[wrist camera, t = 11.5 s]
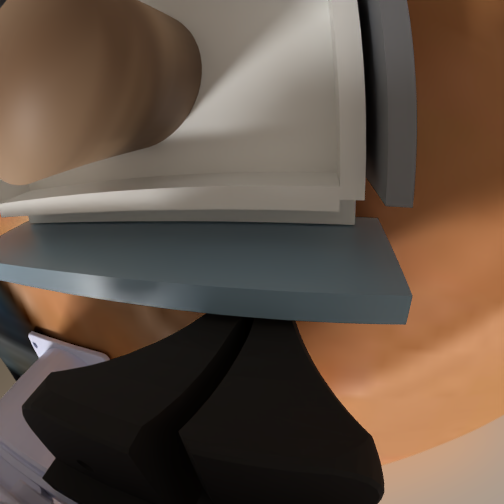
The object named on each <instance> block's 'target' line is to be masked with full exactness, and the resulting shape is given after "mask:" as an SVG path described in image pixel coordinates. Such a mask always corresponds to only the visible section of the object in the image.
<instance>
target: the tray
mask: <svg viewBox="0 0 504 504" xmlns="http://www.w3.org/2000/svg"><path fill="white" fill-rule="evenodd" d="M138 1H140V2H143V3H145V4H147V5H149V6H151V7H153V8H155V9H157V10H159V11H161V12H163V13H165V14H167V15H169V16H170V17H172V18H174V19H176V20H178V21H179V22H181V23H182V24H183V25H184V26H185V27H186V28H187V29H188V30H189V31H190V32H191V34H192V35H193V37H194V39H195V41H196V43H197V45H198V48H199V51H200V55H201V62H202V77H201V85H200V89H199V93H198V96H197V98H196V101H195V104H194V106H193V108H192V109H191V111H190V113H189V115H188V116H187V118H186V119H185V121H184V122H183V123H182V124H181V125H180V127H179V128H178V129H177V130H176V131H175V132H174V133H172V134H171V135H170V136H169V137H167V138H166V139H165V140H163V141H161V142H160V143H158V144H156V145H153V146H151V147H148V148H144V149H140V150H136V151H132V152H129V153H125V154H121V155H117V156H114V157H110V158H107V159H103V160H100V161H96V162H93V163H90V164H86V165H83V166H80V167H77V168H74V169H71V170H68V171H65V172H62V173H59V174H56V175H53V176H50V177H47V178H44V179H42V180H39V181H36V182H33V183H30V184H27V185H12V184H9V183H6V182H4V181H3V180H1V179H0V213H1V217H14V216H29V221H27V222H25V223H23V224H21V225H20V226H18V227H16V228H14V229H12V230H10V231H8V232H6V233H4V234H3V235H1V236H0V280H2V281H7V282H12V283H16V284H21V285H26V286H31V287H36V288H41V289H46V290H51V291H56V292H62V293H67V294H73V295H79V296H85V297H91V298H97V299H103V300H109V301H116V302H123V303H130V304H137V305H144V306H151V307H159V308H167V309H175V310H183V311H192V312H201V313H211V314H220V315H231V316H242V317H254V318H266V319H280V320H295V321H312V322H332V323H358V324H406V322H407V318H408V313H409V309H410V305H411V300H412V294H411V291H410V289H409V286H408V284H407V281H406V279H405V277H404V274H403V272H402V269H401V267H400V265H399V263H398V260H397V258H396V256H395V254H394V251H393V249H392V247H391V245H390V243H389V240H388V238H387V236H386V234H385V232H384V230H383V228H382V226H381V224H380V222H379V220H378V218H368V217H355V208H356V200H365V177H366V104H365V81H364V64H363V51H362V39H361V29H360V20H359V12H358V4H357V0H138Z"/></svg>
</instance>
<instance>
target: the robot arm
mask: <svg viewBox="0 0 504 504" xmlns="http://www.w3.org/2000/svg"><path fill="white" fill-rule="evenodd" d="M29 339H30V341H31V343H32V345H33V347H34V349H35V351H36V353H37V355H38V357H39V359H38V360H37V361H36V362H35V363H34V364H33V365H32V366H31V367H30V368H29V369H28V370H27V371H26V372H25V373H24V374H23V375H22V376H21V377H20V378H19V380H18V381H17V382H16V383H15V384H14V385H13V386H12V387H11V388H10V389H9V391H7V393H6V394H5V395H4V396H3V397H2V398H1V399H0V504H378V503H379V501H380V500H381V499H382V496H383V494H384V479H383V472H382V468H381V463H380V459H379V455H378V452H377V449H376V446H375V443H374V440H373V438H372V436H371V435H370V434H369V433H368V432H367V431H366V430H365V429H364V428H363V427H362V426H361V425H360V424H359V423H358V422H357V421H356V420H355V419H354V417H353V416H352V415H351V414H350V413H349V412H348V411H347V410H346V408H345V407H344V406H343V405H342V404H341V402H340V401H339V400H338V399H337V397H336V396H335V395H334V393H333V392H332V390H331V389H330V388H329V386H328V385H327V383H326V382H325V380H324V379H323V377H322V376H321V375H320V373H319V371H318V370H317V368H316V366H315V364H314V363H313V361H312V359H311V357H310V355H309V353H308V351H307V349H306V347H305V345H304V343H303V340H302V338H301V335H300V333H299V330H298V327H297V324H296V321H295V320H280V319H266V318H254V317H242V316H231V315H220V314H211V313H206V314H205V315H203V316H202V317H200V318H199V319H197V320H196V321H194V322H193V323H191V324H190V325H188V326H186V327H185V328H183V329H181V330H180V331H178V332H176V333H174V334H172V335H170V336H168V337H166V338H164V339H163V340H160V341H158V342H156V343H154V344H151V345H149V346H147V347H144V348H142V349H139V350H137V351H134V352H132V353H129V354H127V355H124V356H121V357H118V358H114V359H111V360H110V359H109V357H108V356H107V355H105V354H104V353H101V352H97V351H94V350H90V349H86V348H83V347H80V346H76V345H73V344H70V343H66V342H63V341H60V340H57V339H54V338H51V337H48V336H45V335H42V334H39V333H36V332H33V331H31V332H30V333H29Z"/></svg>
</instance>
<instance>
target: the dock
mask: <svg viewBox="0 0 504 504" xmlns="http://www.w3.org/2000/svg"><path fill="white" fill-rule="evenodd" d="M5 2H6V0H0V8H1V7H2V5H3V4H4V3H5ZM357 4H358V12H359V20H360V29H361V39H362V51H363V64H364V81H365V104H366V178H367V179H368V181H369V182H370V184H371V185H372V187H373V188H374V189H375V191H376V192H377V194H378V195H379V197H380V198H381V200H382V201H383V203H384V205H385V206H393V207H409V208H413V200H414V187H415V172H416V149H417V99H416V77H415V62H414V51H413V41H412V32H411V24H410V17H409V10H408V4H407V0H357Z"/></svg>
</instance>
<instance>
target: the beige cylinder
mask: <svg viewBox="0 0 504 504" xmlns="http://www.w3.org/2000/svg"><path fill="white" fill-rule="evenodd" d="M201 77H202V62H201V55H200V51H199V48H198V45H197V43H196V41H195V39H194V37H193V35H192V34H191V32H190V31H189V30H188V29H187V28H186V27H185V26H184V25H183V24H182V23H181V22H179V21H178V20H176V19H174V18H172V17H170V16H169V15H167V14H165V13H163V12H161V11H159V10H157V9H155V8H153V7H151V6H149V5H147V4H145V3H143V2H140V1H138V0H6V2H5V3H4V4H3V5H2V7H1V8H0V179H1V180H3V181H4V182H6V183H9V184H12V185H27V184H30V183H33V182H36V181H39V180H42V179H44V178H47V177H50V176H53V175H56V174H59V173H62V172H65V171H68V170H71V169H74V168H77V167H80V166H83V165H86V164H90V163H93V162H96V161H100V160H103V159H107V158H110V157H114V156H117V155H121V154H125V153H129V152H132V151H136V150H140V149H144V148H148V147H151V146H153V145H156V144H158V143H160V142H161V141H163V140H165V139H166V138H167V137H169V136H170V135H171V134H172V133H174V132H175V131H176V130H177V129H178V128H179V127H180V125H181V124H182V123H183V122H184V121H185V119H186V118H187V116H188V115H189V113H190V111H191V109H192V108H193V106H194V104H195V101H196V98H197V96H198V93H199V89H200V85H201Z"/></svg>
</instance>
